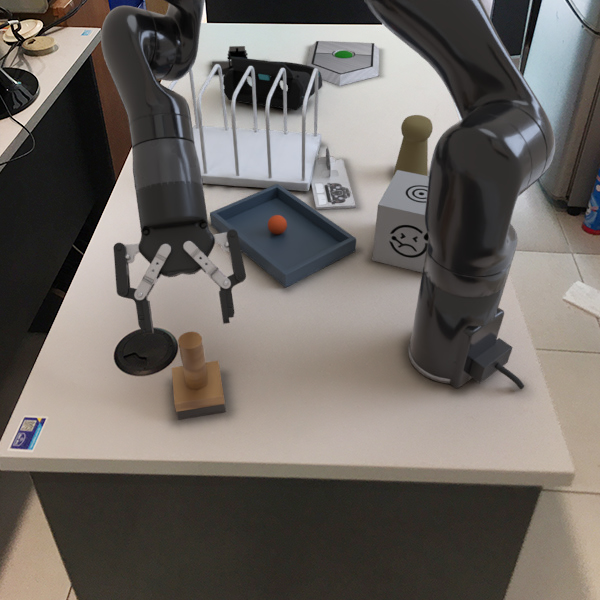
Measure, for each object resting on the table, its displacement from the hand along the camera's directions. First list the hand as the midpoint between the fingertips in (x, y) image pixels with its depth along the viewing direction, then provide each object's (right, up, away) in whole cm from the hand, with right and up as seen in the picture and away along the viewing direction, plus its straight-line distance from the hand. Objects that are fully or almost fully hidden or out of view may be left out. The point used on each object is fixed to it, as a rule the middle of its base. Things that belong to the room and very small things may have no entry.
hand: (188, 328), depth 71 cm
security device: (+23, +58, +77) cm, 99 cm away
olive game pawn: (+32, +25, +42) cm, 58 cm away
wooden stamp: (0, -9, +5) cm, 10 cm away
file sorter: (+3, +28, +45) cm, 53 cm away
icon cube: (+30, +11, +26) cm, 41 cm away
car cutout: (+18, +23, +40) cm, 49 cm away
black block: (-2, +57, +76) cm, 95 cm away
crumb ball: (+9, +15, +27) cm, 32 cm away
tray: (+10, +13, +28) cm, 32 cm away
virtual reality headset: (+8, +48, +66) cm, 82 cm away
